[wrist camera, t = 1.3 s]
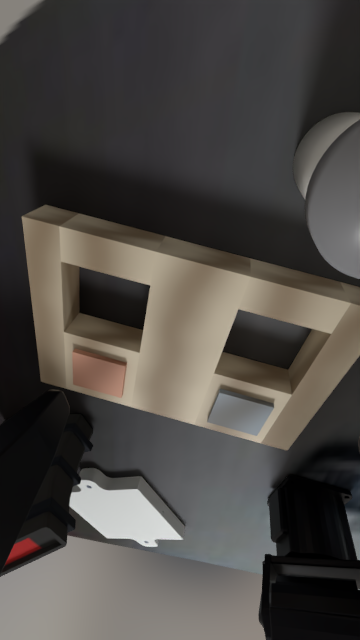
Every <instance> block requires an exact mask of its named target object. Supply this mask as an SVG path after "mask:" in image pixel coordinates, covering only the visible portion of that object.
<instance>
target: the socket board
mask: <svg viewBox="0 0 360 640" xmlns="http://www.w3.org/2000/svg"><path fill="white" fill-rule="evenodd" d="M22 222H23V230H24V239H25V248H26V256H27V265H28V273H29V282H30V291H31V299H32V308H33V316H34V325H35V334H36V342H37V351H38V359H39V368H40V377H41V382H44V383H48V384H51V385H55V386H58V387H62V388H66V389H69V390H73V391H76V392H80V393H83V394H87V395H90V396H94V397H98V398H101V399H105V400H108V401H112V402H115V403H119V404H123V405H126V406H130V407H133V408H137V409H140V410H144V411H147V412H151V413H155V414H158V415H162V416H165V417H169V418H172V419H176V420H179V421H183V422H187V423H190V424H194V425H197V426H201V427H204V428H208V429H212V430H215V431H219V432H222V433H226V434H229V435H233V436H236V437H240V438H244V439H247V440H251V441H254V442H258V443H261V444H265V445H269V446H272V447H276V448H279V449H283V450H286V451H287V450H288V449H289V448H290V446H291V445H292V444H293V442H294V441H295V440H296V438H297V437H298V436H299V435H300V433H301V432H302V431H303V429H304V428H305V427H306V425H307V424H308V423H309V421H310V420H311V419H312V417H313V416H314V415H315V413H316V412H317V411H318V410H319V408H320V407H321V406H322V404H323V403H324V402H325V400H326V399H327V398H328V396H329V395H330V394H331V392H332V391H333V390H334V388H335V387H336V386H337V385H338V383H339V382H340V381H341V379H342V378H343V377H344V375H345V374H346V373H347V371H348V370H349V369H350V367H351V366H352V365H353V363H354V362H355V361H356V360H357V358H358V357H359V356H360V287H358V286H354V285H350V284H346V283H343V282H339V281H335V280H331V279H327V278H323V277H320V276H316V275H312V274H308V273H304V272H301V271H297V270H293V269H289V268H285V267H282V266H278V265H274V264H270V263H266V262H262V261H259V260H255V259H251V258H247V257H243V256H240V255H236V254H232V253H228V252H224V251H221V250H217V249H213V248H209V247H205V246H201V245H198V244H194V243H190V242H186V241H182V240H179V239H175V238H171V237H167V236H163V235H160V234H156V233H152V232H148V231H144V230H140V229H137V228H133V227H129V226H125V225H121V224H118V223H114V222H110V221H106V220H102V219H99V218H95V217H91V216H87V215H83V214H79V213H76V212H72V211H68V210H64V209H60V208H57V207H53V206H49V205H44V206H42V207H40V208H38V209H36V210H34V211H32V212H30V213H28V214H26V215H24V216H22ZM79 267H83V268H87V269H91V270H94V271H98V272H102V273H106V274H109V275H113V276H117V277H121V278H124V279H128V280H132V281H135V282H139V283H143V284H147V285H150V291H149V298H148V304H147V310H146V316H145V323H144V329H143V330H141V329H137V328H133V327H130V326H126V325H122V324H119V323H115V322H111V321H108V320H104V319H100V318H97V317H93V316H89V315H86V314H82V313H79ZM238 309H240V310H244V311H248V312H251V313H255V314H259V315H262V316H266V317H270V318H274V319H277V320H281V321H285V322H289V323H292V324H296V325H300V326H304V327H307V328H311V329H312V330H311V332H310V334H309V335H308V337H307V339H306V340H305V342H304V344H303V345H302V347H301V349H300V351H299V352H298V354H297V356H296V357H295V359H294V361H293V362H292V364H291V366H290V368H289V369H288V370H287V369H284V368H280V367H276V366H273V365H269V364H265V363H262V362H258V361H254V360H251V359H247V358H243V357H240V356H236V355H232V354H229V353H225V352H222V351H223V348H224V346H225V343H226V340H227V338H228V335H229V332H230V330H231V327H232V325H233V322H234V319H235V317H236V314H237V311H238Z"/></svg>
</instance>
